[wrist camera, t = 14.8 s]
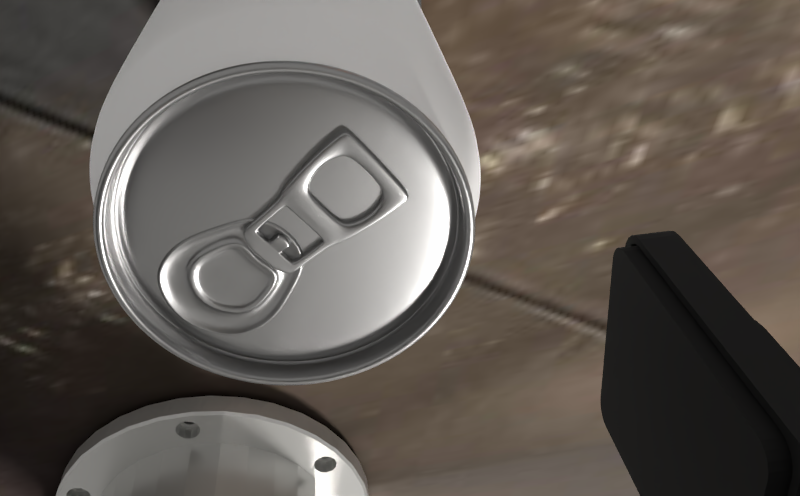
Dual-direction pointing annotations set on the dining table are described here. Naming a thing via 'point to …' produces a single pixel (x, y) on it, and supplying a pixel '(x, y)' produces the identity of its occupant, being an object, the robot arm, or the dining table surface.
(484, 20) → the dining table surface
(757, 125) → the dining table surface
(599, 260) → the dining table surface
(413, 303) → the can
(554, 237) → the dining table surface
